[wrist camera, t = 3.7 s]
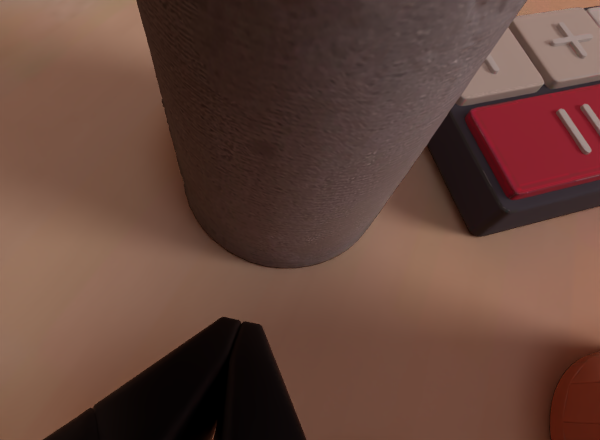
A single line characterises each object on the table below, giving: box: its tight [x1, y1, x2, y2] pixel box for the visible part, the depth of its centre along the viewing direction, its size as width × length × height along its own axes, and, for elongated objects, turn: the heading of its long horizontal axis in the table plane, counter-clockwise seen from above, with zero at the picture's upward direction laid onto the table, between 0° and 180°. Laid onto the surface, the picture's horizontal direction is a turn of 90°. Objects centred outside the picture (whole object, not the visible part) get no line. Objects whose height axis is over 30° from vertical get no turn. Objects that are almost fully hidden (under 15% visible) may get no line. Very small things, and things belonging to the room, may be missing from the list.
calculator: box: [427, 6, 600, 236], centre depth 21 cm, size 11×4×15 cm
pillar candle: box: [137, 0, 527, 268], centre depth 13 cm, size 10×10×15 cm
